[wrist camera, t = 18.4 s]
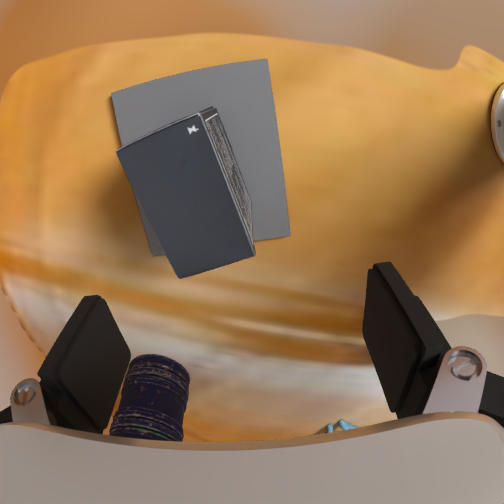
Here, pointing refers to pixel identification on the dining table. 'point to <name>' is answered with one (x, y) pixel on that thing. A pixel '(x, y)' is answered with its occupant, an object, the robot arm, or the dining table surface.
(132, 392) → the storage jar
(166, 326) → the dining table surface
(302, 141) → the dining table surface
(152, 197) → the small box
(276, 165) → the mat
